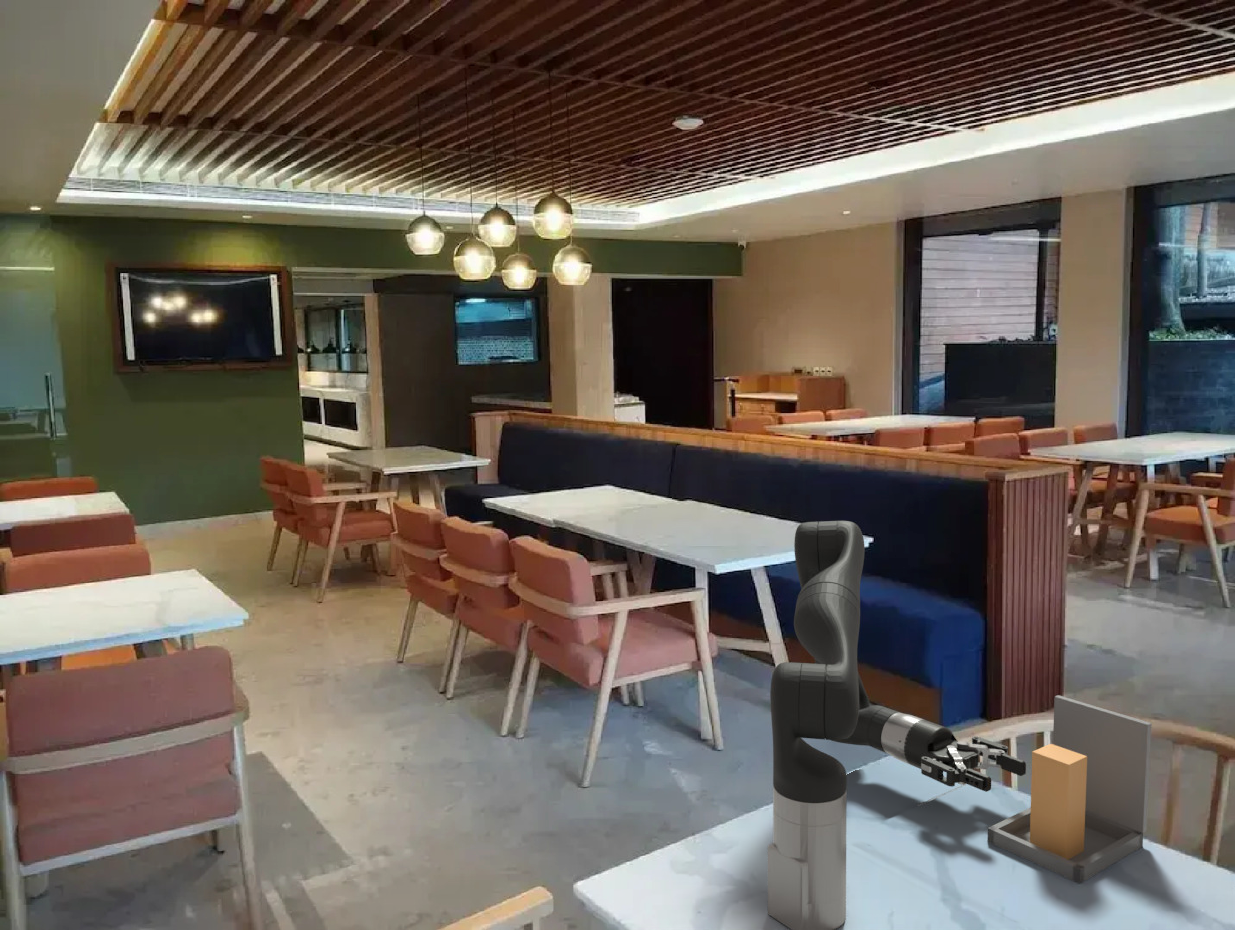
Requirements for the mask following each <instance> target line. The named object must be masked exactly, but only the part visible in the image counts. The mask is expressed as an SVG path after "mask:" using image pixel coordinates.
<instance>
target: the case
mask: <svg viewBox="0 0 1235 930" xmlns="http://www.w3.org/2000/svg"><path fill="white" fill-rule="evenodd" d="M1053 698H1054V700H1053V701H1054V702H1053V703H1054V704H1053V731H1052V732H1053V733H1052V735H1053V736H1052V744H1053V745H1056V746H1059V747H1062V748H1065V749H1068V750H1071V751H1073V752H1076V753H1079V754H1082V755H1085V756H1087V778H1086V804H1085V830H1084V851H1083V852H1081V853H1079V854H1077V855H1076V856H1074V857H1072V858H1070V859H1069V860H1068V859H1066V858H1063V857H1061V856H1059V855H1056V854H1054V853H1052V852H1050V851H1047V850H1045V849H1043V848H1041V847H1038V846H1036V845H1034V844H1032V843H1030V813H1031V806H1030V807H1028V808H1025V809H1024V810H1022V811H1020V812H1018V813H1016V814H1014V815H1012V816H1009V817H1008V818H1006V819H1004V820H1001V821H1000V822H998V823H995V824H994V825H991V826H989V827H988V828H987V843H990V844H992V845H994V846H996V847H998V848H1001V849H1003V850H1005V851H1007V852H1009V853H1011V854H1014V855H1016V856H1018V857H1021V858H1022V859H1025V860H1027V861H1030V862H1031V863H1034V864H1035V865H1038V866H1040V867H1042V868H1043V869H1044V868H1045V869H1046V870H1049V871H1051V872H1053V873H1055V874H1058V875H1060V876H1062V877H1064V878H1066V879H1069V880H1071V881H1073V882H1075V883H1077V884H1083V882H1085V881H1086V880H1088V879H1091V878H1092V877H1093V876H1095V875H1097V874H1099V873H1101V872H1102V871H1104V870H1106V869H1107V868H1109V867H1110V866H1112V865H1113V864H1116V863H1117V862H1118V861H1121V860H1122V859H1124V858H1126V857H1128V856H1129V855H1131V854H1133V853H1134V852H1136V851H1137V850H1139V849H1141V848H1142V847H1144V833H1146V832H1147V831H1148V830H1147V829H1148V810H1149V809H1148V808H1149V807H1148V806H1149V805H1148V804H1149V786H1150V785H1149V784H1150V783H1149V782H1150V768H1151V767H1150V766H1151V765H1150V763H1151V742H1152V741H1151V740H1152V723H1153V722H1149V721H1146V720H1142V719H1140V718H1136V717H1132V716H1129V715H1126V714H1122V713H1119V712H1116V711H1112V710H1109V709H1105V708H1102V707H1098V706H1097V705H1096V706H1095V705H1093V704H1089V703H1085V702H1083V701H1080V700H1079V701H1078V700H1076V699H1073V698H1069V697H1066V696H1063V695H1060V694H1058V695H1055V696H1054V697H1053Z"/></svg>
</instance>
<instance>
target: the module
mask: <svg viewBox="0 0 1235 930" xmlns="http://www.w3.org/2000/svg"><path fill="white" fill-rule="evenodd" d="M1031 755H1032V756H1031V783H1030V784H1031V786H1030V790H1031V791H1030V807H1031V813H1030V843H1032V844H1034V845H1036V846H1038V847H1041V848H1043V849H1045V850H1047V851H1050V852H1052V853H1054V854H1056V855H1059V856H1061V857H1063V858H1066V859H1068V860H1069V859H1070V858H1072V857H1074V856H1076V855H1077V854H1079V853H1081V852H1083V851H1084V830H1085V804H1086V778H1087V756H1085V755H1082V754H1079V753H1076V752H1073V751H1071V750H1068V749H1065V748H1062V747H1059V746H1056V745H1053V743H1049V744H1047V745H1045V746H1042V747H1040V748H1038V749H1036V750H1033V751H1031Z"/></svg>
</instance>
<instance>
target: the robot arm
mask: <svg viewBox="0 0 1235 930" xmlns="http://www.w3.org/2000/svg"><path fill="white" fill-rule="evenodd" d="M794 534H795V535H794V543H793V544H794V546H793V547H794V558H795V565H796V570H797V575H798V581H799V584H800V588H801V589H800V591H799V594H798V595H797V599H796V602H795V603H796V604H795V609H794V610H795V611H794V618H793V627H794V632H795V635H796V637H797V639H798V641H799V643H800V644H801V646H802V647H803V648H804V649H805V650H806V651H807V652H808V653H809V655H810V656H811V657H812V658H814V663H809V662H808V663H807V662H790V661H789V662H788V661H787V662H780V663H778V664H777V666H775V668H774V670H773V673H772V675H771V680H770V681H771V682H770V690H769V691H770V693H769V695H770V696H769V697H770V698H769V699H770V716H771V730H772V732H771V733H772V748H773V749H772V753H773V754H772V755H773V756H772V757H773V758H772V759H773V760H772V761H773V764H772V768H773V769H772V771H773V772H772V785H773V786H772V787H773V788H772V799H773V801H772V808H773V809H772V815H773V816H772V819H773V820H772V821H773V822H772V823H773V824H772V827H773V828H772V829H773V830H772V831H773V834H772V836H773V837H772V838H773V839H772V841H773V842H772V843H770V844H768V846H767V914H768V915H769V916H771V917H772V918H773V919H775V920H777V921H778V922H779V923H781V924H783V926H786V927H787V928H789V929H790V930H836V929H838V928H840V927H841V926H842V925H843V924H844V922H845V921H846V917H847V799H848V798H847V790H848V789H847V788H848V784H847V782H848V781H847V780H848V778H847V776H848V775H847V772H846V768H845V766H844V765H843V764H842V762H840V760H838V759H837V758H835V757H834V756H832V755H830V754H828V753H825V752H824V751H822V750H819V749H817V748H815V747H814V746H812V745H810V744H809V743H807V742H806V741H805V740H804V739H812V740H826V741H831V742H835V743H840V744H846V745H847V744H848V745H853V746H865V747H871V748H873V749H875V750H877V751H880V752H883V753H885V754H888V755H890V756H891V757H893V758H894V759H897V760H898V761H900V762H902V763H905V764H908V765H910V766H912V767H915V768H917V769H919V770H920V771H921V772H920V773H921V774H922V775H923V776H925V777H928V778H930V779H932V780H934V781H937V782H939V783H941V784H944V785H945V786H948V787H951V788H953V787H955V785H956V784H958V785H960V786H962V785H965V784H966V785H969V786H971V787H974V788H975V789H978V790H980V791H983V792H987V793H988V792H989V791H991V789H992V778H991V776H989V775H987V774H984V773H982V772H979V771H977V770H975V769H978V770H980V769H981V770H987V769H988V768H999V769H1002V770H1003V771H1006V772H1009V773H1011V774H1014V775H1017V776H1020V777H1023V776H1024V775H1026V774H1027V773H1026V772H1027V764H1026V762H1025V761H1024V760H1022V759H1019V758H1017V757H1014V756H1012V755H1010V754H1009V747H1008V746H1007V745H1005V744H1001V743H998V742H995V741H992V740H988V739H985V738H982V737H980V736H977V735H976V736H972V737H971V742H968V741H963V740H962V741H961V740H957V739H956V737H955V735H954V733H953V732H952V731H951V729H950V728H948V727H945V726H943V725H940V724H938V723H935V722H932V721H929V720H926V719H924V718H921V717H919V716H916V715H915V716H914V715H912V714H908V713H904V712H900V711H897V710H894V709H891V708H889V707H885V706H883V705H878V704H877V705H873V704H872V705H871V703H870V699H869V697H868V693H867V692H866V689H865V687H864V683H863V681H862V679H861V676H860V674H859V671H858V670H859V669H858V643H859V636H860V635H859V634H860V625H861V594H860V593H861V591H860V590H861V587H860V586H861V579H862V574H863V568H864V563H865V562H864V561H865V554H866V553H865V538H864V535H863V532H862V530H861V528H860V527H859V525H858V524H856V523H855V522H853V521H849V520H829V521H827V520H826V521H824V520H823V521H808V522H802V523H800V524H799V525H798V526H797V528H796V530H795V533H794ZM979 757H982V761H981V762H980V760H979ZM944 773H946V774H945V775H944ZM945 776H946V777H945ZM966 785H965V786H966Z"/></svg>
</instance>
